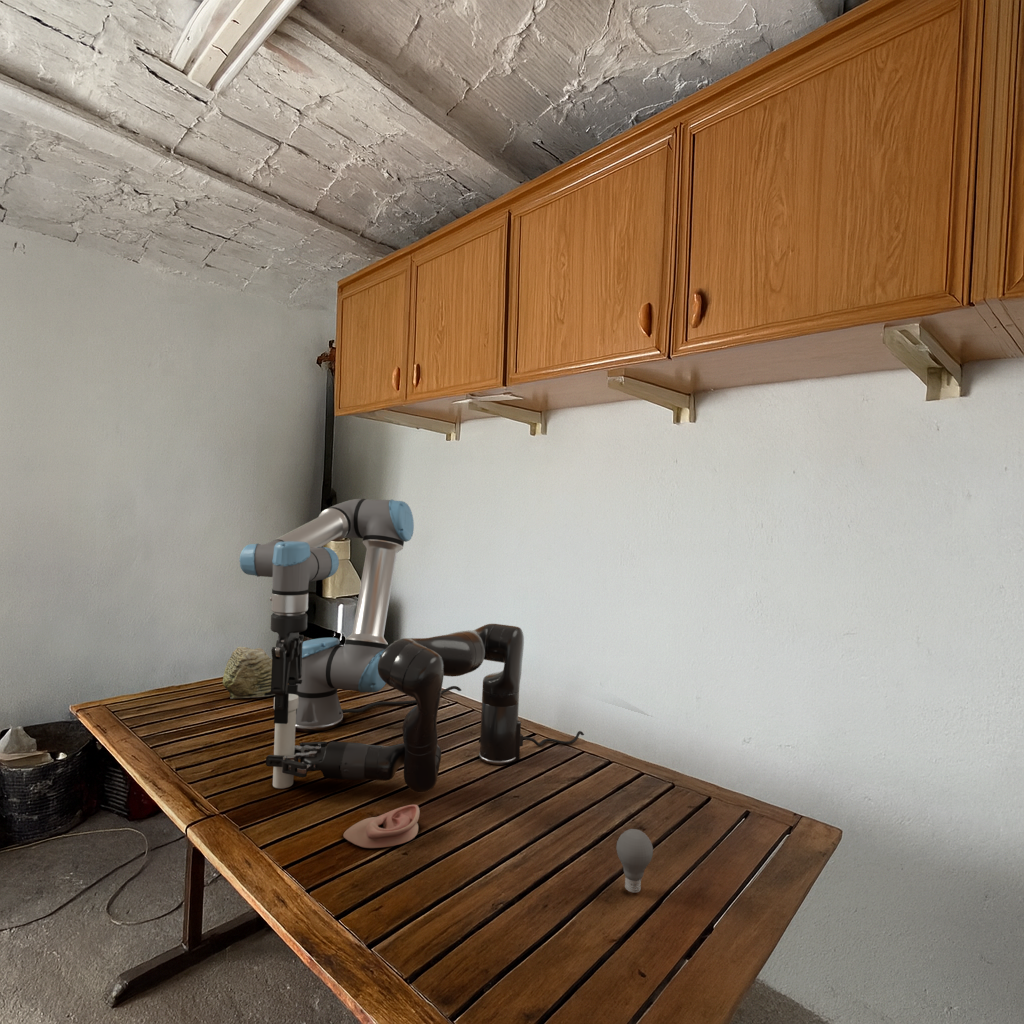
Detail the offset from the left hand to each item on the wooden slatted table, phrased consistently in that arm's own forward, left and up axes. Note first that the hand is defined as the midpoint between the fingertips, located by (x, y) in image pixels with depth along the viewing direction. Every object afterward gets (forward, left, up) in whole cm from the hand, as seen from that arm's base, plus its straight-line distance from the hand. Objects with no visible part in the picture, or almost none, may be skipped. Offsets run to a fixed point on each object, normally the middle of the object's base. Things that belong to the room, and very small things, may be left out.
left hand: (285, 718), depth 139 cm
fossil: (-27, -61, -15) cm, 68 cm away
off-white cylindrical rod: (0, 0, -15) cm, 15 cm away
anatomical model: (-1, +32, -15) cm, 35 cm away
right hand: (+2, -2, -8) cm, 9 cm away
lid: (0, 0, +4) cm, 4 cm away
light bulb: (-18, +76, -15) cm, 79 cm away
